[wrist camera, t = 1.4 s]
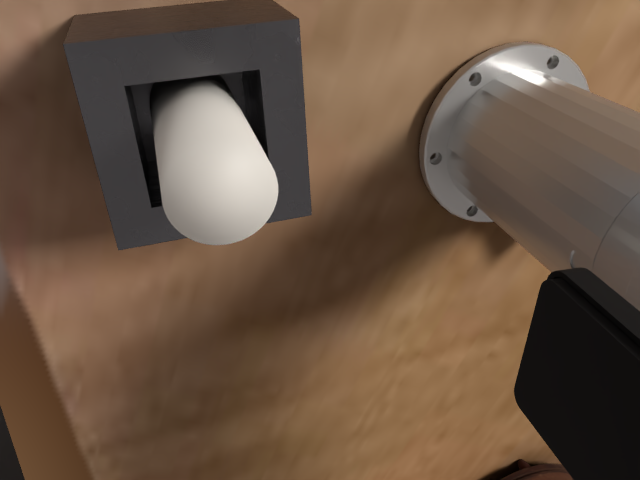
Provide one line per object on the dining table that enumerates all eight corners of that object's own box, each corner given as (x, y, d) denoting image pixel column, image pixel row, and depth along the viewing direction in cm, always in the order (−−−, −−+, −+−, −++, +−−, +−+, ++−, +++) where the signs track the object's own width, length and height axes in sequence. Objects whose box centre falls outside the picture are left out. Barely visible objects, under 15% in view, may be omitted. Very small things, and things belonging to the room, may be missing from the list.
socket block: (282, 165, 37) (311, 214, 31) (119, 191, 35) (118, 250, 29) (267, -4, 32) (299, 18, 26) (74, 15, 30) (62, 44, 24)
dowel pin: (236, 135, 34) (282, 233, 24) (158, 147, 33) (173, 254, 23) (226, 57, 32) (272, 131, 22) (141, 67, 31) (150, 149, 21)
